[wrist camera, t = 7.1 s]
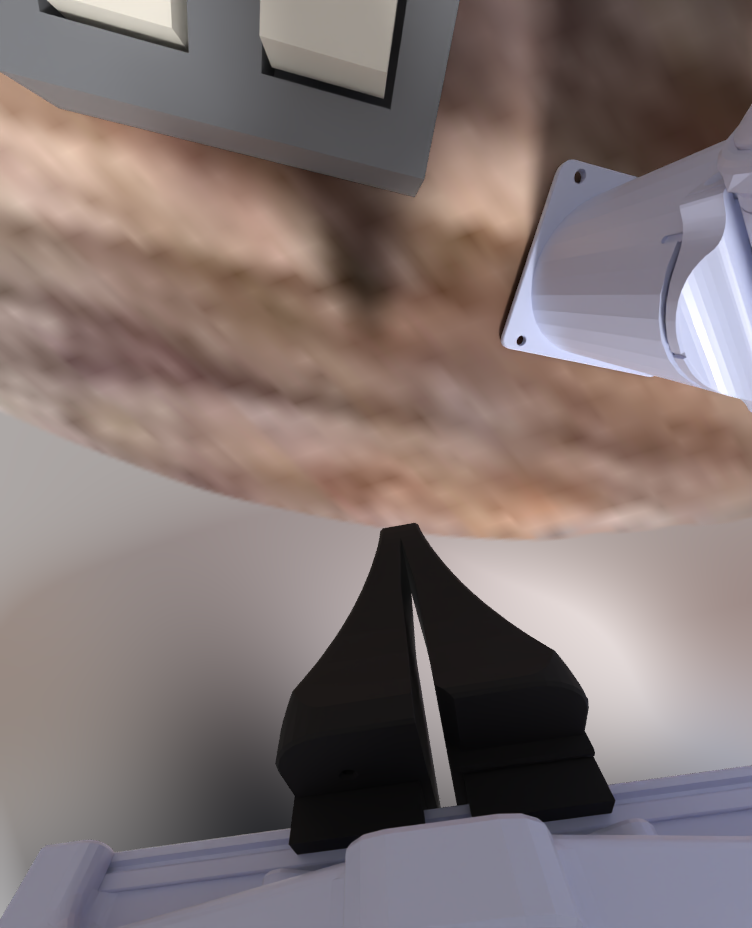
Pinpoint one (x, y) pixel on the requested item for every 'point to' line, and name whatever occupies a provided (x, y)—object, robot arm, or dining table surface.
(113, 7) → the button
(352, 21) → the button
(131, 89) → the button board
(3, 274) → the dining table surface
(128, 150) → the dining table surface
